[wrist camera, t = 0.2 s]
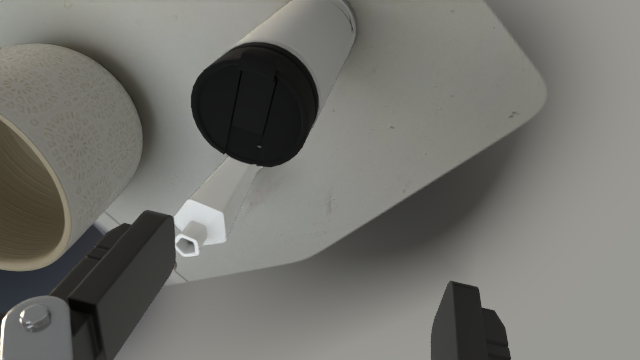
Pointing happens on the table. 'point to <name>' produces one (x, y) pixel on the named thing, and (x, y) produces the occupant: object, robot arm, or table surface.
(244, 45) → the travel mug
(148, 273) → the robot arm
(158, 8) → the table surface
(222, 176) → the perfume bottle
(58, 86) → the planter
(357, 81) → the table surface
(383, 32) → the table surface
